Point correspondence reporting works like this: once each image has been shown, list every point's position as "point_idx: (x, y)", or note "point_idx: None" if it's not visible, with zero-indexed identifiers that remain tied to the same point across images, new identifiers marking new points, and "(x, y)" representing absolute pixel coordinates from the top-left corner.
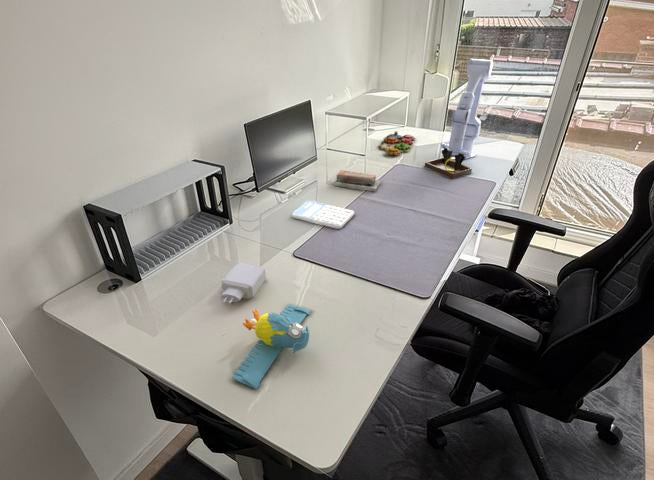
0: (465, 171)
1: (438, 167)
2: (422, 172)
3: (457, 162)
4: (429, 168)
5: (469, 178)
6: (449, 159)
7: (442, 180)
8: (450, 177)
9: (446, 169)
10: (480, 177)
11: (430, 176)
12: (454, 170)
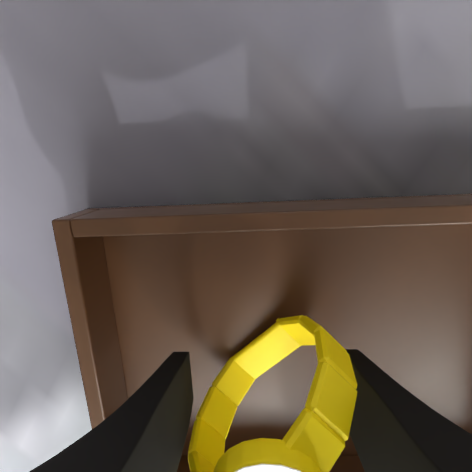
0: (96, 416)
1: (341, 218)
2: (443, 22)
3: (90, 432)
4: (465, 194)
5: (35, 365)
6: (304, 435)
7: (102, 73)
8: (112, 209)
9: (290, 317)
10: (19, 454)
11: (277, 23)
12: (224, 370)
